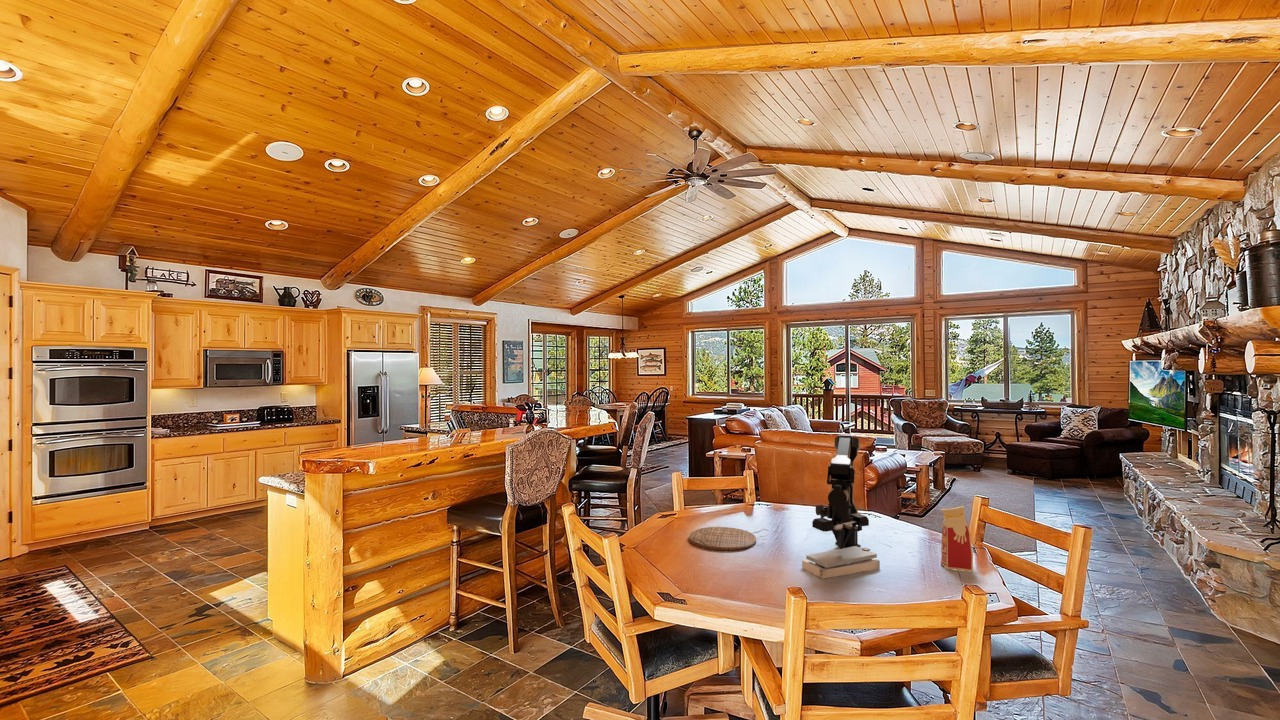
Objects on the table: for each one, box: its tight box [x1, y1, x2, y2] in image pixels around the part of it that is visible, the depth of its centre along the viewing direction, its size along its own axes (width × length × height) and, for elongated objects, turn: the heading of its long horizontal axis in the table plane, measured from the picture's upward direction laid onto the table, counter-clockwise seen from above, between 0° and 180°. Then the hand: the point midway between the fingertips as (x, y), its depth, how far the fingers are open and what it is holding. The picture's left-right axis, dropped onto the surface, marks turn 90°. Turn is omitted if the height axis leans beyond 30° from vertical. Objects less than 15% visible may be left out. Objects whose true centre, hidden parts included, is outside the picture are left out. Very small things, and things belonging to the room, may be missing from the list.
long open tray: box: [801, 558, 881, 580], centre depth 187 cm, size 23×10×3 cm, turn 112°
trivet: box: [688, 526, 757, 553], centre depth 217 cm, size 25×25×2 cm
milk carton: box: [940, 505, 974, 573], centre depth 189 cm, size 9×9×20 cm
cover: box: [805, 546, 878, 568], centre depth 187 cm, size 23×9×1 cm, turn 115°
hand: (840, 548), depth 187 cm, fingers closed
